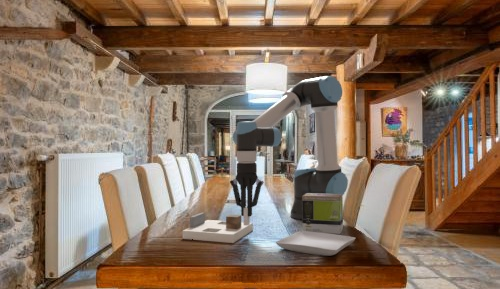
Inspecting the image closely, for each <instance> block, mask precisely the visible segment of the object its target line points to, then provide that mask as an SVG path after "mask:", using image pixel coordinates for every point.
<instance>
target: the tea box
mask: <svg viewBox="0 0 500 289" xmlns="http://www.w3.org/2000/svg"><path fill="white" fill-rule="evenodd" d="M343 199H344V198H343V196H342V194H320V193H307V194H305V195H303V196H302V219H301V220H302V223H301V226H302V231H306V232H317V233H327V234H335V235H341V233H342V232H343V228H344V215H343V214H344V210H343V208H344V207H343V206H344V203H343Z"/></svg>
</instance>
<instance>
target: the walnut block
mask: <svg viewBox="0 0 500 289" xmlns="http://www.w3.org/2000/svg"><path fill="white" fill-rule="evenodd" d="M225 221H226V228H228V229H238V228H240V227H241V222H242V215H241V214H228V215H227V216H225Z"/></svg>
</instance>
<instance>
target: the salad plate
mask: <svg viewBox="0 0 500 289" xmlns="http://www.w3.org/2000/svg"><path fill="white" fill-rule="evenodd" d="M355 240H356V237H354V236H349V235H341V234H332V233H317V232H306V231H303V230H300V231H297V232H295V233H292V234H290V235H288V236H285V237H284V238H281V239H279V240H277V241H276V242H275V244H276V245H277V246H278V247H280V248H281V249H283V250H284V249H285V250H288V251H290V252H297V253H304V254H310V255H315V256H316V255H317V256H324V257H325V256H326V257H329V256H330V257H331V256H334V255H336V254H338V253H339V252H341V251H342V250H343V249H344V248H347V247H348V246H349V245H352V244H353V243H354V242H355Z"/></svg>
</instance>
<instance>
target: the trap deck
mask: <svg viewBox="0 0 500 289" xmlns="http://www.w3.org/2000/svg"><path fill="white" fill-rule="evenodd" d="M253 225H254V222H250V224H249V225H247V226H246V225H244V221H241V227H240V228H238V229H228V228H226V220H217V219H215V220H213V219H206V212H200V213H197V214H194V215H192V216H190V217H189V227H188V228H185V229H184V230H182V240H183V239H184V240H192V239H193V240H195V241H205V242H207V241H208V242H217V243H230V244H231V243H232V244H234V243H235V242H237V241H239V240H241V239H242V238H243V237H245V236H246V235H248V234H249V233H251V232H253V231H254V230H253V228H254V226H253Z"/></svg>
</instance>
